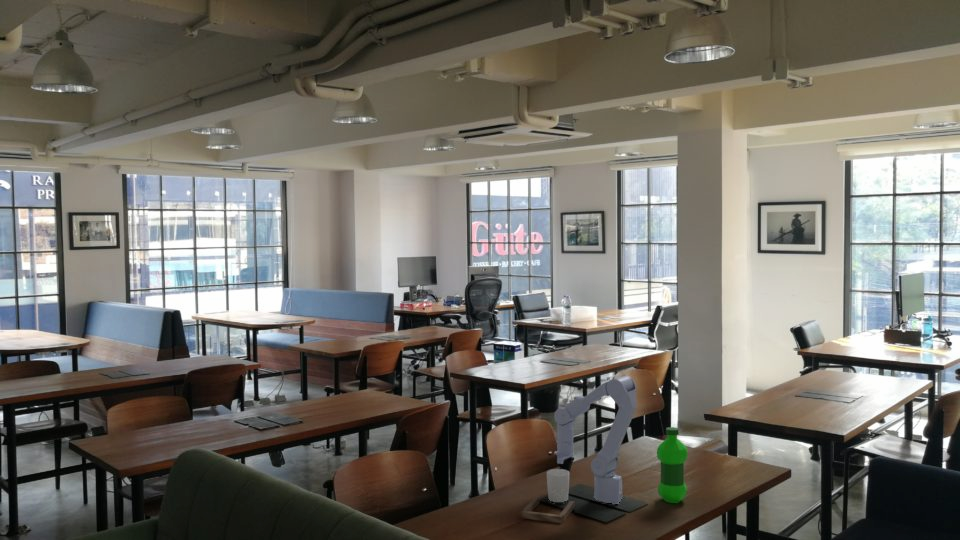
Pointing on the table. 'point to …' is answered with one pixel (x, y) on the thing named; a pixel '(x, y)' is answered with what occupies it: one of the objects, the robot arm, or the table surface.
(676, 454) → the plastic bottle
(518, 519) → the table surface
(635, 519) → the table surface
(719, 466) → the table surface
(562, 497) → the white cup
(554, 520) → the walnut bay
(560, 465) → the robot arm
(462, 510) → the table surface
